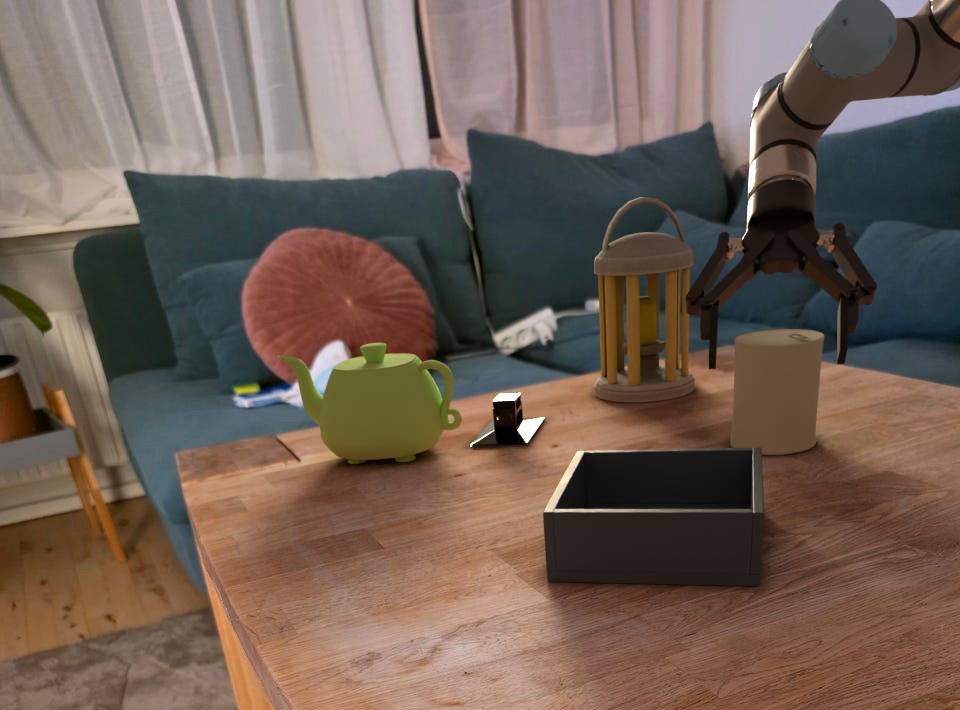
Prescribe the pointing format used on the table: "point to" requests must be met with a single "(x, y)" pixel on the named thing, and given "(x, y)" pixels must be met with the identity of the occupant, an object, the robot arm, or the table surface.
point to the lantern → (643, 313)
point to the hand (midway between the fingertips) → (775, 360)
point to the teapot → (379, 405)
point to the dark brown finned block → (508, 424)
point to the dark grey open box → (658, 518)
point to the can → (776, 390)
